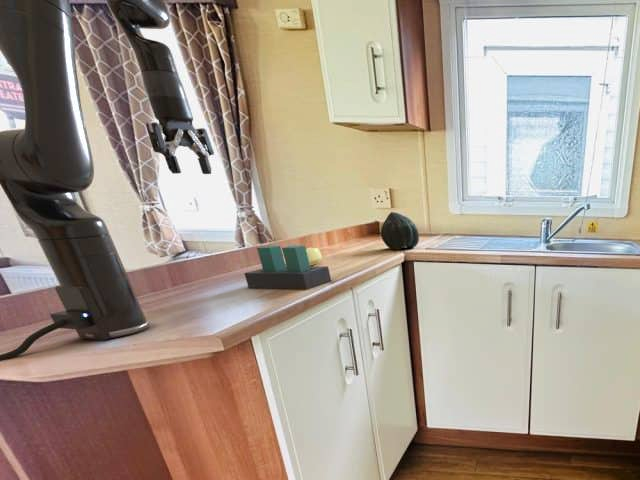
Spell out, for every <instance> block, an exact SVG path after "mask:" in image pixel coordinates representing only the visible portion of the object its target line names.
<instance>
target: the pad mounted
mask: <svg viewBox="0 0 640 480" xmlns="http://www.w3.org/2000/svg"><path fill="white" fill-rule="evenodd" d="M306 249H307V248H306V245H289V246H284V247H281V251H282V254H283V258H284V262H285V264H286V265H287V269H288V272H303V271H306V270H310V264H309V260H308V256H307V252H306Z"/></svg>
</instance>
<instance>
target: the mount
mask: <svg viewBox="0 0 640 480" xmlns="http://www.w3.org/2000/svg"><path fill="white" fill-rule="evenodd" d="M243 274H244V277H245V281H246V284H247V288H248V289H267V290H268V289H270V290H272V289H273V290H309V289H312V288H315V287H317V286H321V285H323V284H327V283H330V282H332V278H331V273H330V268H329V266H325V265H324V266H318V265H317V266H316V265H315V266H313V265H311V266H310V270H306V271H303V272H288V269H287V266H286V269H284V270H280V271H276V272H264V271H263V268H259V269H256V270H251V271H247V272H244V273H243Z"/></svg>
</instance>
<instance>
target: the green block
mask: <svg viewBox="0 0 640 480" xmlns="http://www.w3.org/2000/svg"><path fill="white" fill-rule="evenodd" d="M256 250H257V254H258V257H259V261H260V263H261V269H263V271H264V272H276V271H280V270H284V269H286V266H285V264H286V261H285V258H284V254H283V250H282V247H281V245H265V246H260V247H256Z"/></svg>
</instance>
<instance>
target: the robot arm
mask: <svg viewBox="0 0 640 480" xmlns="http://www.w3.org/2000/svg"><path fill="white" fill-rule="evenodd" d="M70 1H71V0H0V53H1V54H2V56H3V58H5V60H6V62H7V63H8V65H9V66H10V68H11V69H12V71H13V72H14V74H15V76H16V77H17V80H18V83H19V85H20V88H21V92H22V96H23V105H24V115H25V117H24V118H25V119H24V128H19V129H7V130H1V131H0V186H1V189H2V190H3V192H4V194H5V196H6V197H7V199H8V201H9V203H10V205H11V206H12V208H13V210H14V212H15V213H16V214H17V216H18V217H19V219H20V220H21V221H22V222H23V223H24V224H25V225H26V226H27V227H28V228H29V229H30V230H31V231H32V233H33V234H34V236H35V238H36V239H37V242H38V244H39V246H40V248H41V250H42V252H43V254H44V256H45V258H46V260H47V262H48V264H49V266H50V268H51V270H52V272H53V274H54V276H55V278H56V280H57V282H58V284H59V285H56V286H55V287H54V290H55V292H56V294H57V296H58V298H59V300H60V302H61V304H62V306H63V308H64V310H61V311H58V312H53V313H50V314H49V316H50V317H51V319H52V322H53V323H51V324H49V325H47V326H44V327H42V328H39V330H37V331H35V332H33V333H31V334H30V335H29V336H28V337H27V338H25V339H24V341H22V343H21V344H20V345H19V346H17V348H15V349H12V350H10V351H8V352H5V353H1V354H0V362H1V361H6V360H9V359H13V358H16V357H17V356H20V355H22V354H23V353H26V351H27V350H29V349H30V348H31V346H32V345H33V344H34V343H35V342H36V341H38V340H39V339H40V338H42V337H44V336H45V335H48V334H49V333H52V332H53V331H55V330H59V329H62V330H63V329H66V330H75V331H76V334H77V335H78V338H79V339H81V340H94V341H95V340H97V341H98V340H99V341H106V340H110V339H114V338H119V337H125V336H128V335H133V334H137V333H139V332H142V331H144V330H146V329H148V328H149V327H150V324H149V320H148V319H147V318H146V316H145V313H144V310H143V308H142V306H141V303H140V302H139V299H138V297H137V294H136V291H135V290H134V287H133V285H132V283H131V280H130V279H129V276H128V274H127V271H126V269H125V266H124V264H123V262H122V259H121V257H120V255H119V252H118V249H117V247H116V245H115V242H114V240H113V238H112V235H111V234H110V231H109V228H108V226H107V224H106V222H105V221H104V220H103V218H101V217H100V216H98V215H95V214H93V213H91V212H89V211H87V210H86V209H84V208H83V207H82V206H81V205H79V203H78V201H77V199H76V198H75V196H74V194H75V193H81V192H83V191H86V190H87V189H88V188H89V187H90V186H91V185H92V184H93V182H94V181H93V180H94V177H95V166H94V160H93V153H92V150H91V149H92V148H91V145H90V140H89V137H88V133H87V128H86V122H85V118H84V115H83V114H84V113H83V108H82V102H81V95H80V87H79V79H78V70H77V63H76V61H77V60H76V43H75V32H74V23H73V16H72V10H71V2H70ZM105 1H106V4H107V7H108V9H109V10H110V12H111V14H112V15H113V17H114V19H115V20H116V22H117V24H118V25H119V27H120V28H121V30H122V32H123V34H124V35H125V37H126V39H127V41H128V43H129V45H130V47H131V48H132V51H133V53H134V56H135V59H136V61H137V66H138V68H139V70H140V74H141V77H142V82H143V87H144V89H145V92H146V95H147V97H148V101H149V104H150V106H151V109H152V113H153V116H154V118H155V119H156V120H157V121H158V122H156V121H155V122H147V123H145V127H146V130H147V133H148V137H149V140H150V143H151V147H152V150H153V151H154V153H158V154H161V155H162V156H164V159H165V162H166V165H167V168H168V170H169V171H170V173H172V174H173V175H174V174H175V175H176V174H182V170H181V167H180V165H179V161H178V158H177V155H175V154H176V151H177V148H179V147H184V148H188V150H191V151H193V153H194V154H195V155H196V156H197V157H198V158H197V160H198V163H199V167H200V170H201V174H203V175H211V174H212V167H211V164H210V160H209V157H210V156H213V155H215V152H214V148H213V145H212V143H211V140H210V137H209V134H208V132H207V130H206V128H205V127H204V128H203V127H202V128H201V127H200V128H195V127H194V125H193V121H194V117H193V113H192V110H191V107H190V104H189V101H188V96H187V94H186V91H185V88H184V85H183V83H182V81H181V79H180V76H179V73H178V70H177V65H176V63H175V59H174V56H173V53H172V50H171V49H170V47H169V46H168V45H166V44H165V43H163V42H161V41H158V40H154V39H149V38H146V37H145V36H144V35H143V34H142V32H141V30H142V29H143V30H144V29H145V30H164V29H166V28H168V27H169V25H170V23H171V14H170V11H169V8H168V6H167V4H166V2H165V1H164V0H105ZM163 135H164V137H163Z"/></svg>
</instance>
